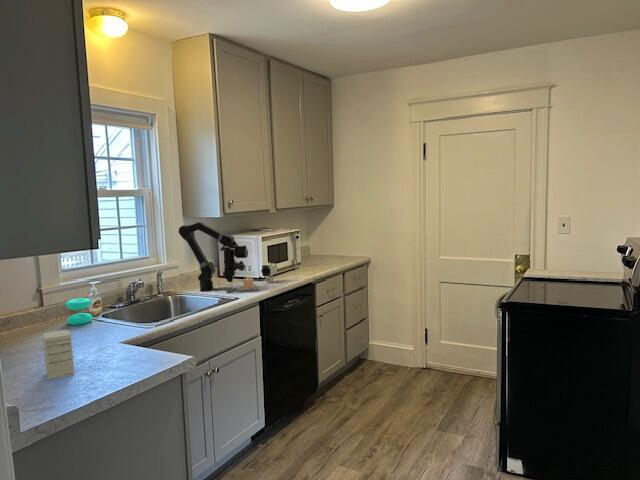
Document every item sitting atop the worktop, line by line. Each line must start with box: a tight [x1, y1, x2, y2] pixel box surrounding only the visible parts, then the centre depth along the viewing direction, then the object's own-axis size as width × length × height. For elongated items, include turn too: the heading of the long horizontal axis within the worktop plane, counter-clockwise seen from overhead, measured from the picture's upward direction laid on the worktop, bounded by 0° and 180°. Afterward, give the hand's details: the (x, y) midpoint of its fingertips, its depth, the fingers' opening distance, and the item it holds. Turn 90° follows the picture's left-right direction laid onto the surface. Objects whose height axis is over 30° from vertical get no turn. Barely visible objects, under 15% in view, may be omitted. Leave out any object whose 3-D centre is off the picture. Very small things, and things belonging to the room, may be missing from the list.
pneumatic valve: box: [260, 262, 278, 284], centre depth 284 cm, size 6×12×12 cm, turn 157°
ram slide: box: [226, 281, 235, 289], centre depth 263 cm, size 3×3×4 cm
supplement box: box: [42, 329, 75, 381], centre depth 144 cm, size 7×7×13 cm
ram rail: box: [225, 285, 235, 294], centre depth 265 cm, size 3×14×3 cm, turn 5°
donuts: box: [65, 297, 94, 326], centre depth 206 cm, size 10×10×10 cm
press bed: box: [238, 286, 259, 293], centre depth 263 cm, size 10×8×1 cm
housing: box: [242, 277, 254, 289], centre depth 262 cm, size 5×5×6 cm
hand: (230, 285), depth 266 cm, fingers closed
